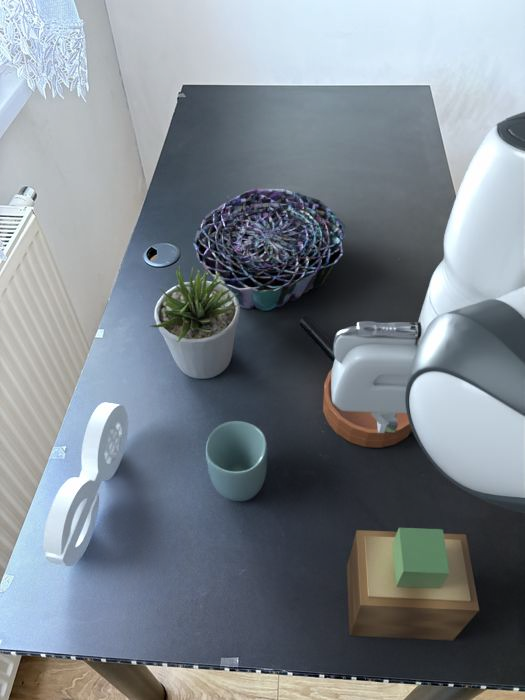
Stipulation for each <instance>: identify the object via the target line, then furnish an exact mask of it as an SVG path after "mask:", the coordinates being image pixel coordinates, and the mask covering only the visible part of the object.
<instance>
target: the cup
mask: <svg viewBox="0 0 525 700" xmlns="http://www.w3.org/2000/svg"><path fill="white" fill-rule="evenodd" d="M205 459H206V465H207V470H208V475H209V479H210V482H211V484H212V486H213V487H214V489H215V491H216V492H217V493H218V495H220V496H221V497H223V498H225V499H227V500H230V501H233V502H245V501H249V500H251V499H253V498H254V497H256V496H257V495H258V494H259V492H260V491H261V489H262V487H263V486H264V483H265V480H266V477H267V472H268V471H267V470H268V444H267V439H266V436H265V434H264V432H263V431H262V430H261V429H260V428H259V427H258V426H256V425H254V424H251V423H249V422H246V421H242V420H241V421H239V420H233V421H232V420H231V421H227V422H224V423H221V424H219V425H217V427H215V428H214V429H213V430H212V431H211V433H210V434H209V436H208V438H207V441H206V445H205Z"/></svg>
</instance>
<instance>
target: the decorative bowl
mask: <svg viewBox="0 0 525 700" xmlns="http://www.w3.org/2000/svg"><path fill="white" fill-rule="evenodd" d="M345 237H346V226H345V224H344V223H343V222H342V221H341V219H339V217H338V215H337V213H336V212H335V211H333V210H331V209H330V208H329V206H327V205H326V204H325V203H324V202H322V201H321V200H320V199H317V198H315V197H314V198H313V197H310V196H308V195H304V194H302V193H299V192H296V191H295V192H294V191H291V190H288V189H285V188H255V189H251V190H248V191H244V192H243V193H241V194H240V195H236V196H234V197H233V198H231V199H230V200H227V201H225V202H224V203H222V204H221V205H220V206H218V207H217V208H215V209H213V210H211V211H210V212H208V214H207V215H206V216H204V217H203V218H202V222H201V224H200V225H199V227H198V228H197V229H196V234H195V237H194V240H193V242H192V243H193V244H192V245H193V247H194V248H195V255H196V259H197V261H198V262H199V263H200V264H201V265H202V266H203V268H204V270H206V273H208V274H207V275H209V277H210V278H211V280H212V281H213V280H214V279H216V278H217V277H218V278H217V280H216V281H215V283H217V282H219V281H221V283H219V284H221V285H223V286H224V287H226V288H228V289H232V290H230V291H232V292H233V293H234V294H237V293H238V294H237V295H236V298H237V299H238V302H239V304H240V305H239V306H240V308H242V309H247V310H251V309H254V308H256V309H258V310H261V311H265V312H266V311H271V310H274V309H275V308H279V307H282V306H284V305H285V304H287V303H288V301H291V302H292V301H296V300H299V299H300V298H301V297H302V296H303V294H306V293H307V292H308V291H309V290H310V289H311V290H312V289H316V288H320V287H322V285H323V284H324V282H325V280H326V279H327V278H328V276H329V275H330V273H331V271H332V269H333V268H334V266H335V264H336V263H337V262H338V261H339V260H340V259H341V258H342V256H343V255H344V245H343V243H344V241H345Z"/></svg>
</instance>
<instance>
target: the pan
mask: <svg viewBox="0 0 525 700" xmlns="http://www.w3.org/2000/svg"><path fill="white" fill-rule="evenodd" d="M331 374H332V369H330V371H329V372H328V374H327V376H326V379H325V381H324V387H323V395H322V412H323V414H324V416H325V419H326V422H327V423H328V425H329V426H330V427H331V428H332V430H333V431H334V432H335V433H336V434H337V435H338V436H340V437H341V438H343V439H344V440H346V441H347V442H349V443H350V444H355V445H357V446H360V447H363V448H364V447H365V448H377V449H378V448H380V449H381V448H386V447H389V446H390V447H391V446H394V445H396V444H398V443H399V442H401V441H403V440H404V439H406V438H407V437H408V436H409V435H410V434H411V433H412V432H413V431H412V429H411V426H410V423H409V420H408V416H407V414H405V413H397V415H396V418H397V422H398V426H397V429H396V432H395V433H378V427H377V420H376V419H375V418H374V417H373V416H372V415H371V412H348V411H342V410H340V409H339V408H338V407H336V406H335V405H334V404H333V402H332V393H331Z"/></svg>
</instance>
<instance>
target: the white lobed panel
mask: <svg viewBox="0 0 525 700" xmlns="http://www.w3.org/2000/svg"><path fill="white" fill-rule="evenodd" d="M84 431H85V432H84V435H83V440H82V445H81V456H80V457H81V459H80V462H81V471H80V473H79V476H78V477H74V476H73V477H70V478H69V479H67V480H66V481H65V482H64V483H63V484H62V486H61V487H60V488H59V490H58V491H57V493H56V495H55V497H54V499H53V501H52V504H51V505H50V508H49V511H48V514H47V518H46V522H45V526H44V531H43V532H44V534H43V552H44V553H45V559H46V560H47V561H48V563H50V564H54V565H60V566H64V567H72V566H74V565H76V564H77V563H78V562H79V561H80V560H81V558H82V557H83V555H84V554H85V552H86V551H87V548H88V546H89V545H90V542H91V539H92V536H93V534H94V532H95V528H96V524H97V521H98V520H97V519H98V515H99V507H100V493H99V489H100V486H101V484H102V481H103V482H107V481H109V480H111V478H113V476H114V475H115V473H116V472H117V471H118V469H119V467H120V464H121V461H122V459H123V457H124V453H125V449H126V445H127V440H128V432H129V417H128V413H127V409H126V407H125V406H124V405H122V404H117V403H111V402H101V403H100V404H99V405H97V407H96V408H95V410H94V411H93V412H92V415H91V416H90V418H89V420H88V423H87V426H86V429H85V430H84Z"/></svg>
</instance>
